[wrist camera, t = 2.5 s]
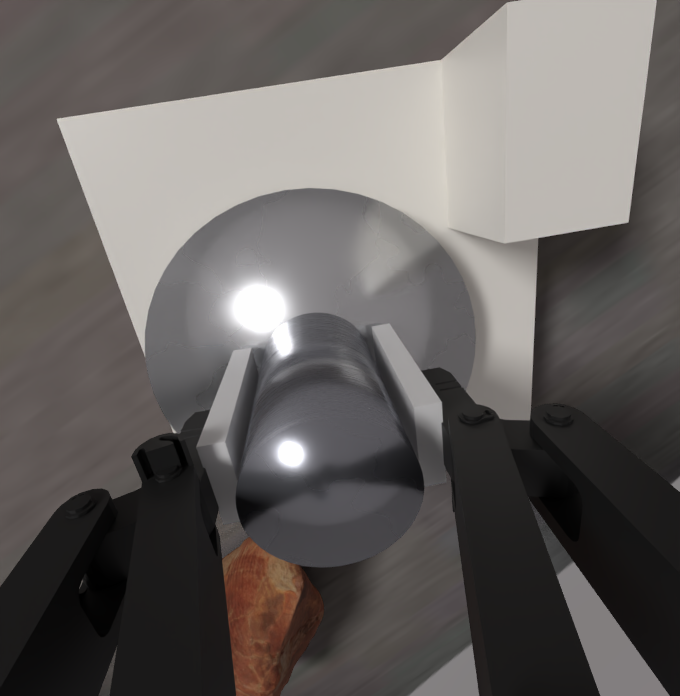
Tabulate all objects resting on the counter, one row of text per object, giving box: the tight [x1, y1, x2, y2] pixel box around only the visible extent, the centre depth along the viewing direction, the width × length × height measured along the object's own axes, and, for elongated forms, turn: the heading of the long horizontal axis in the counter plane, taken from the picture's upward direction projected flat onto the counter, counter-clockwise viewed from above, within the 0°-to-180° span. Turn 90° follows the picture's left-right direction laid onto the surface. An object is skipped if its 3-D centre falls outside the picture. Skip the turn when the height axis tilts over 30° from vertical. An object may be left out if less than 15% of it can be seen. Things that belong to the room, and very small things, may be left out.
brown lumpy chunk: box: [222, 537, 324, 696], centre depth 25 cm, size 13×8×10 cm
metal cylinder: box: [235, 312, 424, 567], centre depth 13 cm, size 5×5×8 cm
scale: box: [57, 0, 657, 433], centre depth 17 cm, size 18×18×8 cm
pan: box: [145, 188, 476, 434], centre depth 18 cm, size 14×14×2 cm
